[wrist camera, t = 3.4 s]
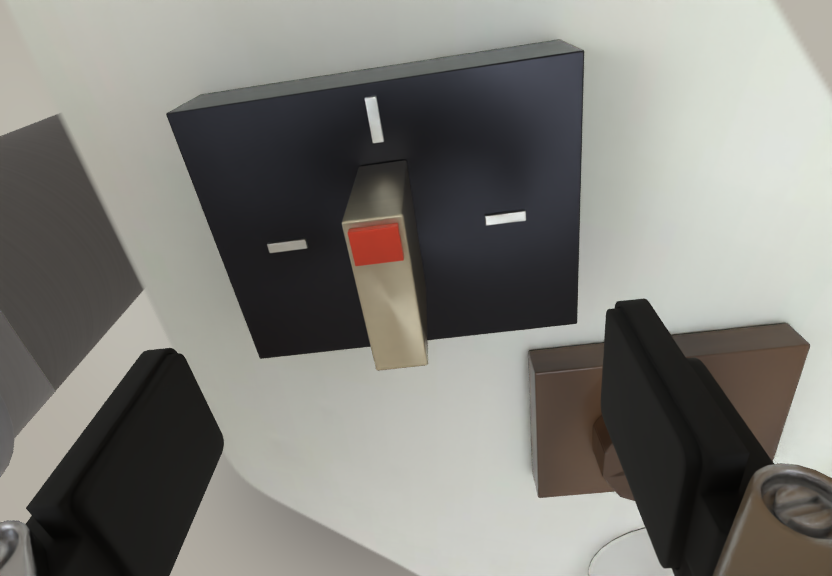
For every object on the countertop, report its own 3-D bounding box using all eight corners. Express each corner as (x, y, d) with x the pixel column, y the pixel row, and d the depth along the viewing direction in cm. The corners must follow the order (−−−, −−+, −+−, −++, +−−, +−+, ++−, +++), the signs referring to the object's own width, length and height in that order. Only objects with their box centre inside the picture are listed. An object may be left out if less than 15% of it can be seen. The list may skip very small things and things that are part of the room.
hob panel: (276, 317, 24) (258, 361, 21) (199, 94, 19) (162, 114, 16) (559, 285, 23) (578, 326, 20) (560, 38, 18) (586, 50, 15)
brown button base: (532, 472, 29) (545, 529, 26) (528, 350, 25) (542, 401, 22) (750, 453, 28) (788, 509, 25) (787, 322, 24) (840, 371, 21)
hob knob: (426, 288, 19) (428, 371, 15) (384, 293, 20) (375, 376, 15) (406, 159, 17) (402, 218, 13) (358, 165, 17) (339, 226, 13)
